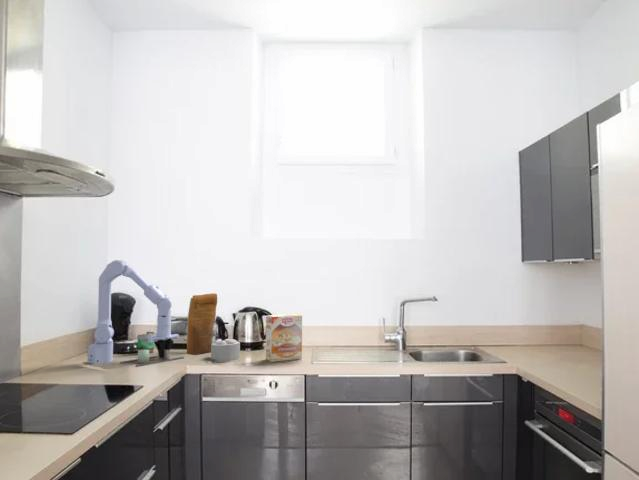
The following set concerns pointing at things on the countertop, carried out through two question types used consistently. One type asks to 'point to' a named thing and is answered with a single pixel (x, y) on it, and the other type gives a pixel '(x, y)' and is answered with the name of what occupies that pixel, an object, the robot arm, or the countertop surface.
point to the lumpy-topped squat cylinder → (225, 350)
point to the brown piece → (166, 356)
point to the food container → (146, 342)
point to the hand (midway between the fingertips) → (163, 357)
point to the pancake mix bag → (201, 323)
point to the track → (151, 362)
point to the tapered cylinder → (143, 356)
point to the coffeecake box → (283, 337)
